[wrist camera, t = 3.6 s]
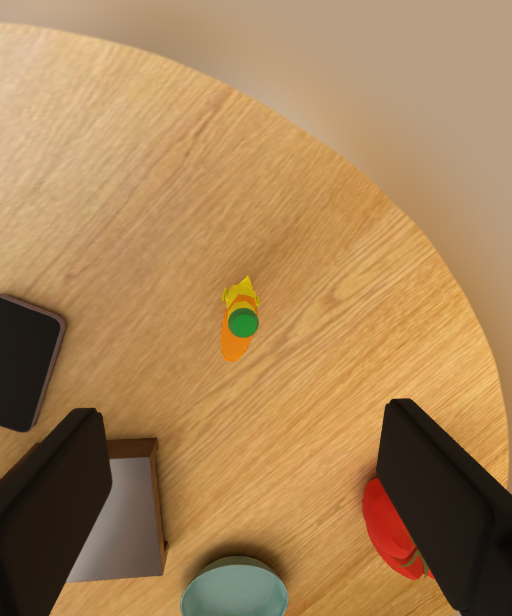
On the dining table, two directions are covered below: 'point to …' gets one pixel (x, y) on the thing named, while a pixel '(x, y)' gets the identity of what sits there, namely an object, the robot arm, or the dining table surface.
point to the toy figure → (239, 319)
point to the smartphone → (25, 360)
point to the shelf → (124, 518)
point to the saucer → (235, 590)
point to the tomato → (391, 534)
